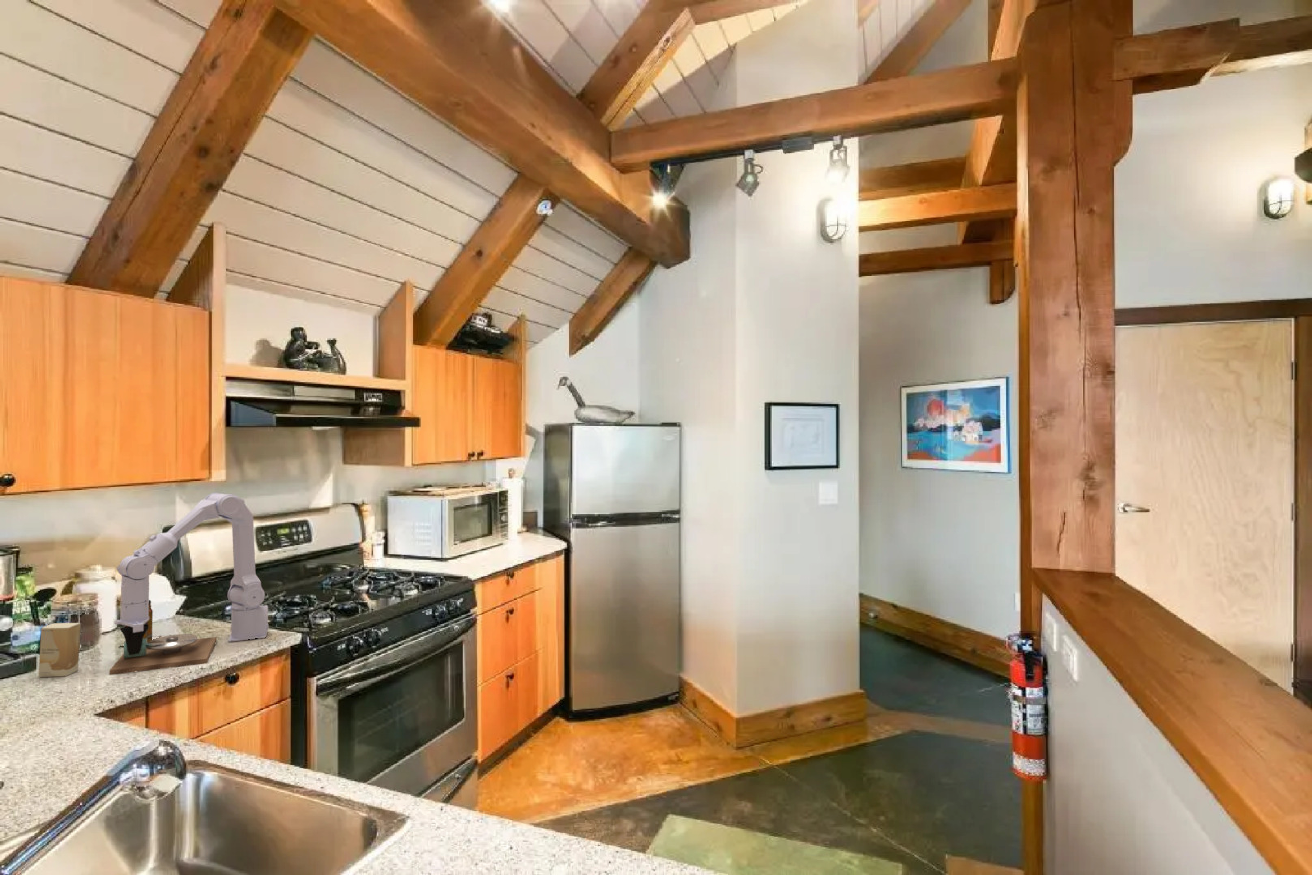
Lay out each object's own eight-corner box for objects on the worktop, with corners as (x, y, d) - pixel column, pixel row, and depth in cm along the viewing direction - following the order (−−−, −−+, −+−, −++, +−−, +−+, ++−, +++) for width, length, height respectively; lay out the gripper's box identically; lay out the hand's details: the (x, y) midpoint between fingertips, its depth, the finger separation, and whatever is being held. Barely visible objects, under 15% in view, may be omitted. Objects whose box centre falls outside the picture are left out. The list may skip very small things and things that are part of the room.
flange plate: (198, 641, 181) (198, 627, 181) (195, 653, 171) (195, 638, 171) (127, 650, 172) (128, 635, 172) (120, 663, 163) (121, 647, 163)
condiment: (118, 647, 179) (119, 605, 179) (132, 638, 187) (133, 597, 187) (149, 645, 181) (149, 603, 181) (162, 636, 189) (163, 596, 189)
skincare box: (37, 677, 156) (38, 627, 156) (50, 671, 160) (51, 622, 160) (68, 676, 157) (69, 627, 157) (80, 670, 162) (81, 621, 162)
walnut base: (216, 640, 186) (217, 622, 186) (206, 662, 168) (207, 642, 168) (129, 650, 176) (129, 630, 176) (109, 674, 159) (109, 652, 159)
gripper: (111, 598, 169) (110, 650, 169) (118, 609, 159) (117, 664, 159) (145, 594, 174) (144, 644, 174) (154, 604, 164) (152, 657, 164)
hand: (133, 653), depth 167 cm, fingers closed, pressing on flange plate
